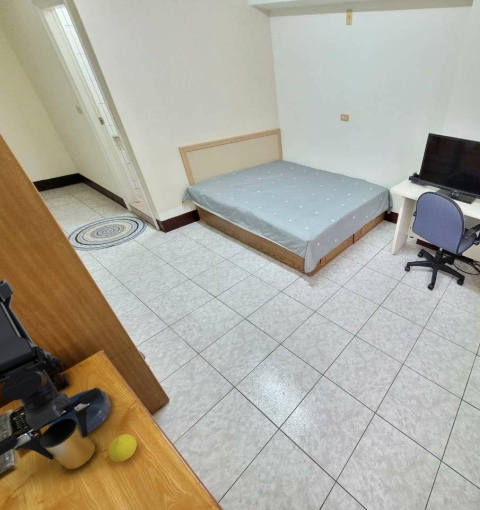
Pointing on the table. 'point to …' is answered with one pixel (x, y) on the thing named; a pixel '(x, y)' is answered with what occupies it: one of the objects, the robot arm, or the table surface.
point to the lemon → (122, 447)
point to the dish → (90, 411)
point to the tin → (67, 443)
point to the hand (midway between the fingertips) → (70, 447)
